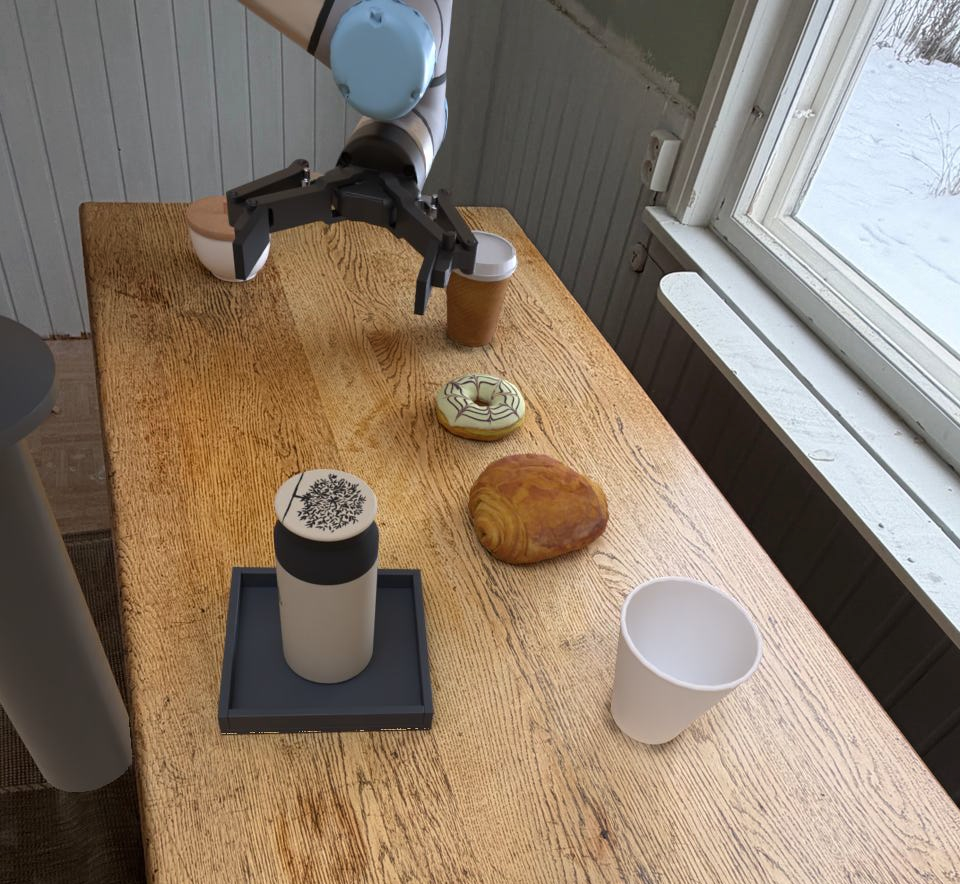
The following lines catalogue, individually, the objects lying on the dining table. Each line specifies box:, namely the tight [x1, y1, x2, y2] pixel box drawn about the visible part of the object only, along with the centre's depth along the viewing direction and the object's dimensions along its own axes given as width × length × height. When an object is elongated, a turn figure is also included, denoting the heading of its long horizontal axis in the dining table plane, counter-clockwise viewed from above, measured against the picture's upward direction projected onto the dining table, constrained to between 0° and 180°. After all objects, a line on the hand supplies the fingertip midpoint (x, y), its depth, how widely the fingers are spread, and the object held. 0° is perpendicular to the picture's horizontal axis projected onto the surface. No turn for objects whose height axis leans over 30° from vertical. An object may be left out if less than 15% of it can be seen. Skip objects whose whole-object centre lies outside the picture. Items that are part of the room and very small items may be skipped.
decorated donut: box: [435, 373, 526, 442], centre depth 97 cm, size 10×11×4 cm
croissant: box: [467, 452, 610, 565], centre depth 86 cm, size 14×16×8 cm
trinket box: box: [185, 195, 271, 283], centre depth 108 cm, size 11×11×9 cm
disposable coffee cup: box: [446, 229, 518, 347], centre depth 106 cm, size 10×10×12 cm
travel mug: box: [272, 468, 380, 683], centre depth 66 cm, size 8×8×18 cm
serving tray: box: [216, 566, 435, 736], centre depth 73 cm, size 18×17×3 cm
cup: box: [610, 575, 763, 746], centre depth 70 cm, size 12×12×12 cm
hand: (329, 280), depth 60 cm, fingers open, 13 cm apart
